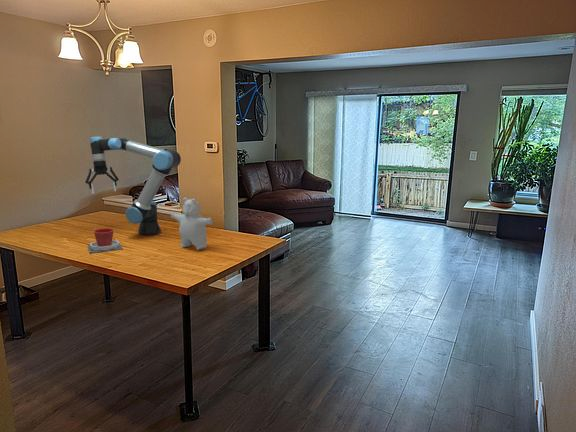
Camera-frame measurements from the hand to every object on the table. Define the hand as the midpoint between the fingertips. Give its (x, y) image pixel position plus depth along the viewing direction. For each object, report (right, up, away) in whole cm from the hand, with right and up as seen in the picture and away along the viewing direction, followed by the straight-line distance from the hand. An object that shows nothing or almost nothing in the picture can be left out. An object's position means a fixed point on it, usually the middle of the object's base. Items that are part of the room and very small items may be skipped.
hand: (104, 192), depth 266 cm
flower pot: (+10, -34, -20) cm, 41 cm away
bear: (+63, -36, -17) cm, 74 cm away
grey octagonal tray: (+10, -35, -20) cm, 42 cm away
